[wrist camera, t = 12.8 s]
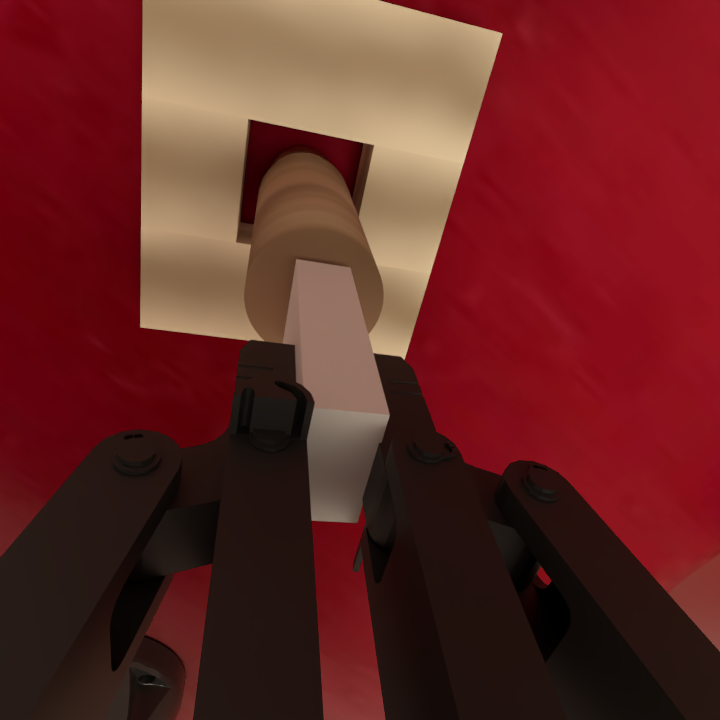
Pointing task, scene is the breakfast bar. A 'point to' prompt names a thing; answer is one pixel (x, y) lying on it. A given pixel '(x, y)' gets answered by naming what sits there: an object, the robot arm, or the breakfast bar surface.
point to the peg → (304, 239)
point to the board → (304, 112)
